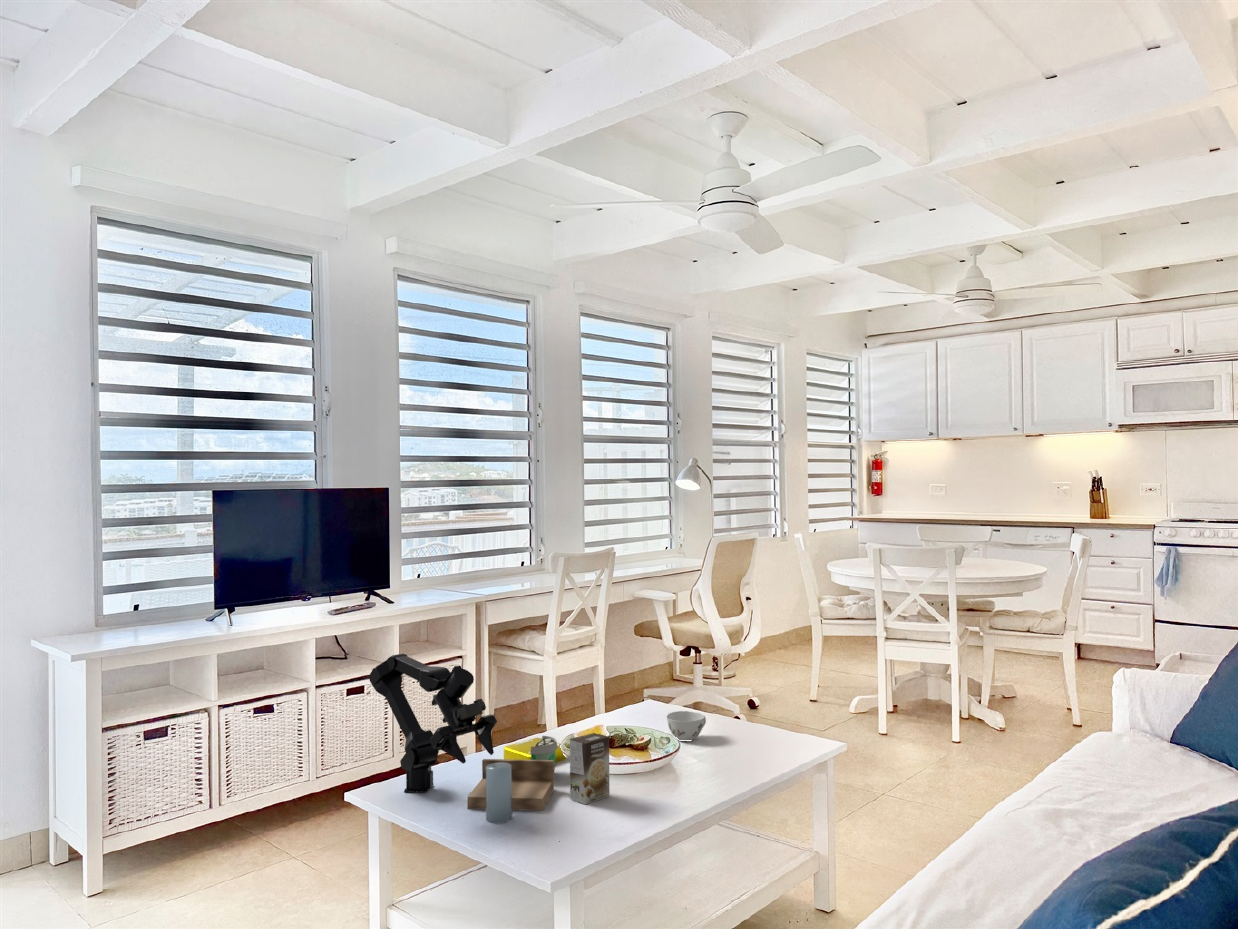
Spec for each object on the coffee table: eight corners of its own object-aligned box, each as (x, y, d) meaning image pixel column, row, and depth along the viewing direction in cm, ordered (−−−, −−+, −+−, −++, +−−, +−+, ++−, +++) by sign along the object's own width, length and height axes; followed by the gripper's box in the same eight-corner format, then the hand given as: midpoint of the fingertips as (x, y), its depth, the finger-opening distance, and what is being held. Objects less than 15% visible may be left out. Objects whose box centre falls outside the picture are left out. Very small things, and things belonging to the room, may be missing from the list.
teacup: (682, 747, 274) (682, 722, 274) (659, 738, 285) (658, 714, 285) (718, 739, 283) (717, 715, 283) (694, 731, 293) (694, 707, 293)
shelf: (467, 808, 223) (467, 777, 223) (483, 787, 239) (483, 759, 239) (542, 810, 221) (542, 779, 221) (553, 789, 237) (553, 760, 237)
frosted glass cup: (483, 822, 213) (482, 770, 214) (490, 813, 219) (489, 762, 220) (508, 823, 212) (507, 770, 213) (514, 814, 219) (513, 762, 219)
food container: (551, 783, 241) (551, 748, 242) (530, 782, 243) (530, 747, 243) (563, 770, 254) (562, 736, 254) (543, 769, 255) (542, 735, 255)
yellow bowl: (537, 750, 275) (537, 735, 276) (569, 759, 265) (569, 744, 265) (501, 761, 265) (500, 745, 265) (532, 771, 254) (532, 755, 254)
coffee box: (585, 805, 224) (584, 743, 225) (569, 799, 229) (568, 738, 229) (610, 796, 231) (609, 736, 231) (594, 790, 235) (593, 732, 236)
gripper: (436, 697, 219) (463, 748, 211) (492, 684, 233) (520, 732, 225) (418, 722, 224) (444, 774, 216) (474, 708, 238) (500, 756, 230)
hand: (478, 758), depth 222 cm, fingers open, 9 cm apart
